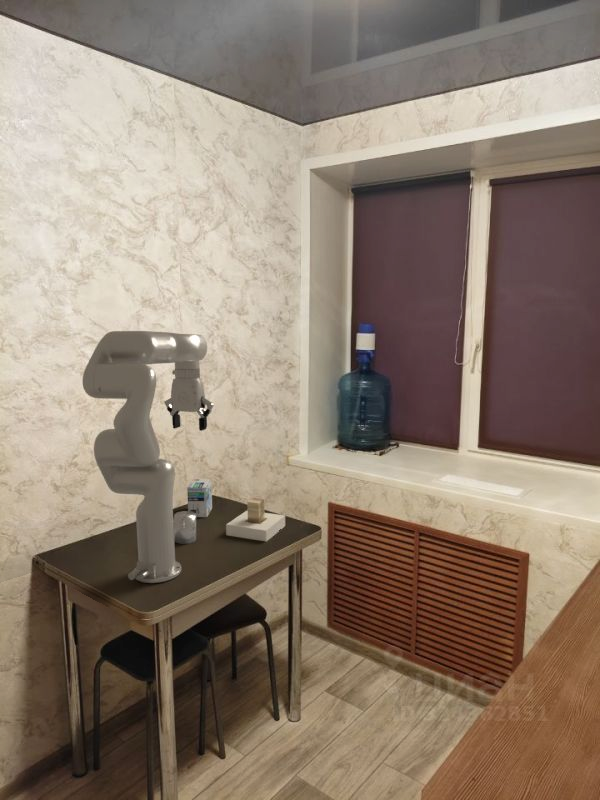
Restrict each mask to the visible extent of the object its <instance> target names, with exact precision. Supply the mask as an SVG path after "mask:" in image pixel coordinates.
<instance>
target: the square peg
mask: <svg viewBox="0 0 600 800" xmlns="http://www.w3.org/2000/svg"><path fill="white" fill-rule="evenodd" d="M246 503H247V505H246V506H247V508H246V509H247V510H248V522H249V523H256V524H261V523H262V522H264V521H265V513H266V512H265V498H256V497H252V498H250V499H249V500H248V501H247V502H246Z"/></svg>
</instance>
